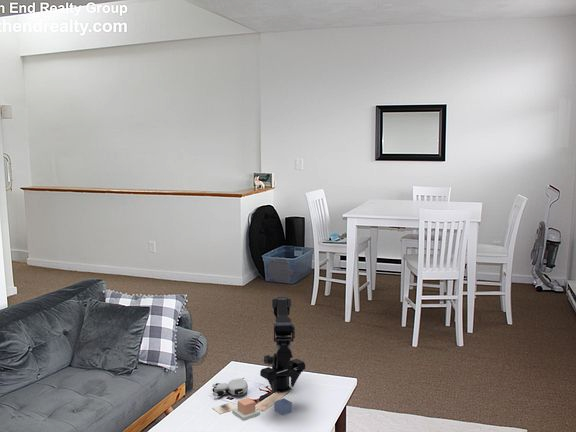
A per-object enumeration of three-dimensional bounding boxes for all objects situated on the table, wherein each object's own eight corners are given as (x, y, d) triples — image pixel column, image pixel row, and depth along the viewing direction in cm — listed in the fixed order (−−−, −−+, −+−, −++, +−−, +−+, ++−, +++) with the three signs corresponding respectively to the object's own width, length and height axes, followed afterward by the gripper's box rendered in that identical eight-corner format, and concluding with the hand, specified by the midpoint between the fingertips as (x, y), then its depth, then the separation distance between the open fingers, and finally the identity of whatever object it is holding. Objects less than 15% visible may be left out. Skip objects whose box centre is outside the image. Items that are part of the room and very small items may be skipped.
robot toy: (213, 403, 238) (249, 397, 241) (212, 392, 238) (248, 387, 240) (212, 390, 250) (246, 385, 253) (211, 380, 250) (245, 375, 252)
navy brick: (283, 407, 233) (283, 398, 232) (291, 411, 229) (291, 402, 228) (274, 411, 230) (274, 401, 229) (282, 415, 226) (282, 406, 225)
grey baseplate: (249, 407, 232) (249, 404, 232) (260, 414, 226) (260, 411, 226) (232, 412, 228) (232, 410, 227) (243, 420, 221) (243, 417, 221)
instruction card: (231, 402, 237) (231, 401, 236) (239, 407, 232) (239, 407, 232) (212, 408, 231) (212, 407, 231) (219, 414, 226) (219, 413, 226)
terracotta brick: (248, 406, 230) (248, 397, 230) (255, 411, 226) (255, 401, 226) (237, 410, 227) (237, 400, 227) (244, 415, 223) (244, 405, 223)
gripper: (289, 341, 238) (289, 377, 240) (252, 351, 227) (252, 388, 229) (306, 349, 229) (306, 386, 231) (268, 359, 218) (268, 398, 220)
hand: (283, 389), depth 228 cm, fingers open, 9 cm apart
